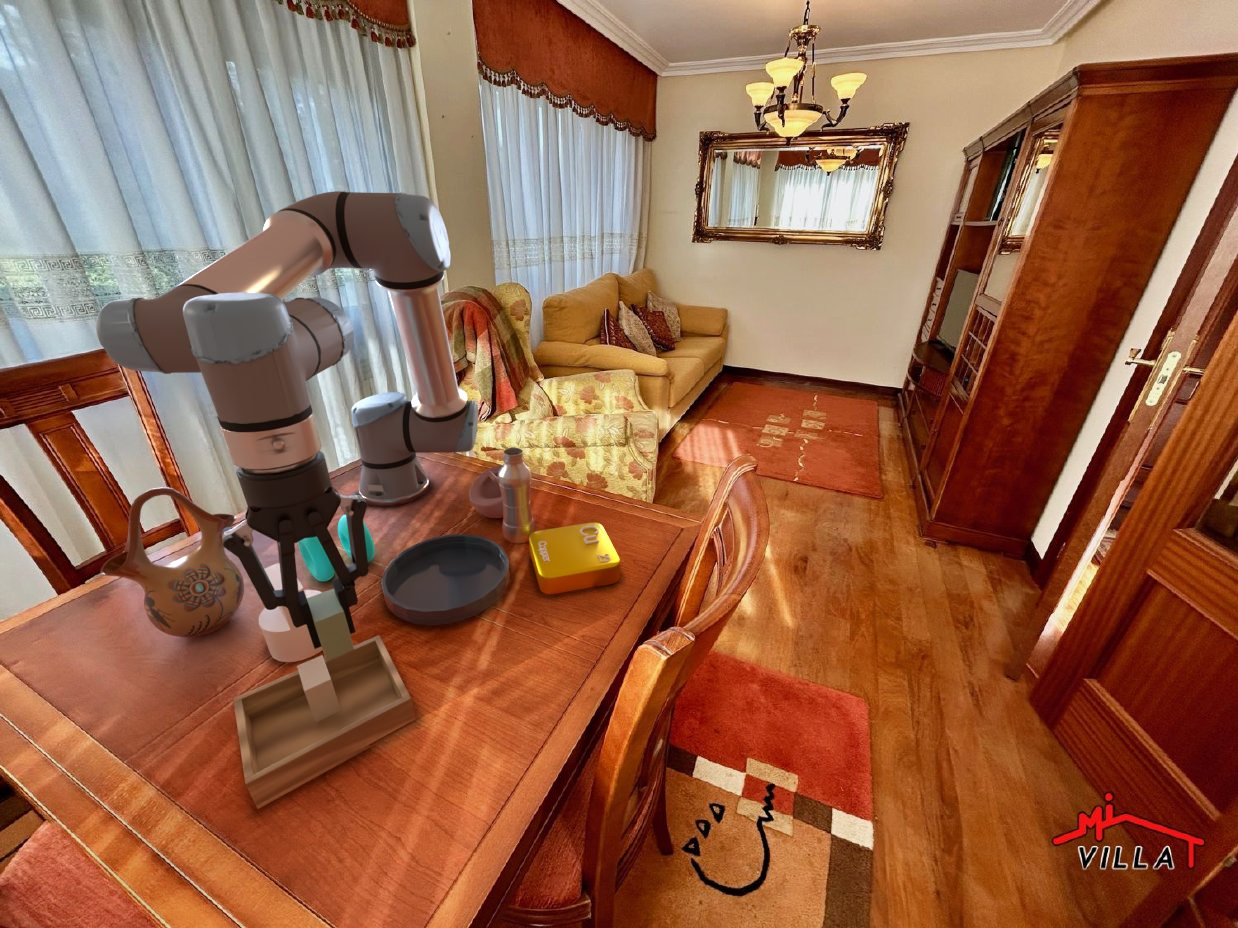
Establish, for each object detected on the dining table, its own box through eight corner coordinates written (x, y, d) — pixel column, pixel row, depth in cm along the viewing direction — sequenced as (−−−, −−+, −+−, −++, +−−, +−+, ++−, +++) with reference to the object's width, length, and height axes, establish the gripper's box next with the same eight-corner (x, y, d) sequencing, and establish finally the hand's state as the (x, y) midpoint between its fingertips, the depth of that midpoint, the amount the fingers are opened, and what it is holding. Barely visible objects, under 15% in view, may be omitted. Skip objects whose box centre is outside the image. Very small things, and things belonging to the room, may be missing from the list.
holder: (244, 721, 65) (233, 697, 63) (384, 657, 75) (379, 634, 73) (257, 809, 56) (245, 784, 54) (416, 721, 66) (411, 698, 64)
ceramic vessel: (248, 586, 88) (199, 459, 77) (279, 603, 85) (233, 473, 74) (133, 649, 75) (54, 507, 64) (165, 673, 72) (87, 527, 60)
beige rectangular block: (308, 696, 68) (296, 665, 65) (332, 685, 70) (322, 654, 67) (315, 723, 65) (304, 691, 62) (341, 710, 66) (330, 679, 64)
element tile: (528, 549, 100) (527, 529, 98) (600, 537, 105) (600, 518, 103) (541, 598, 88) (540, 577, 86) (622, 583, 92) (623, 562, 90)
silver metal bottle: (529, 550, 100) (523, 460, 91) (497, 545, 101) (489, 456, 92) (540, 532, 106) (536, 446, 97) (510, 527, 107) (503, 442, 98)
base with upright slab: (344, 640, 78) (327, 579, 73) (278, 672, 72) (254, 609, 67) (325, 610, 84) (308, 551, 78) (263, 637, 78) (239, 576, 73)
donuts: (381, 568, 94) (371, 523, 89) (325, 594, 87) (311, 547, 83) (358, 545, 100) (348, 503, 95) (303, 568, 93) (289, 523, 89)
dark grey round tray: (369, 576, 92) (365, 561, 90) (479, 536, 104) (477, 522, 102) (408, 648, 77) (405, 631, 75) (531, 591, 89) (530, 576, 88)
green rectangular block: (317, 636, 62) (305, 598, 59) (344, 625, 63) (333, 588, 61) (326, 661, 58) (314, 622, 56) (354, 649, 60) (343, 611, 57)
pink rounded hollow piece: (460, 514, 111) (454, 468, 106) (504, 495, 119) (500, 451, 114) (493, 535, 104) (489, 488, 99) (537, 513, 112) (535, 468, 107)
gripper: (177, 497, 43) (257, 688, 53) (376, 451, 52) (411, 622, 62) (175, 465, 48) (249, 645, 58) (356, 428, 57) (392, 590, 67)
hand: (332, 633), depth 60 cm, fingers closed on green rectangular block, 3 cm apart
